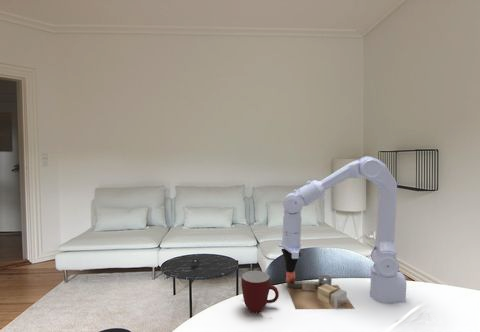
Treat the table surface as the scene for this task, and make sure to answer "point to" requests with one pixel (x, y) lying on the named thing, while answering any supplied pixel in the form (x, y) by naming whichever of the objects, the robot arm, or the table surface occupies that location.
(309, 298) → the board
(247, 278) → the mug
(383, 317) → the table surface
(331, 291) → the tan cube
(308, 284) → the lever
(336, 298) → the brown grey rectangular block
